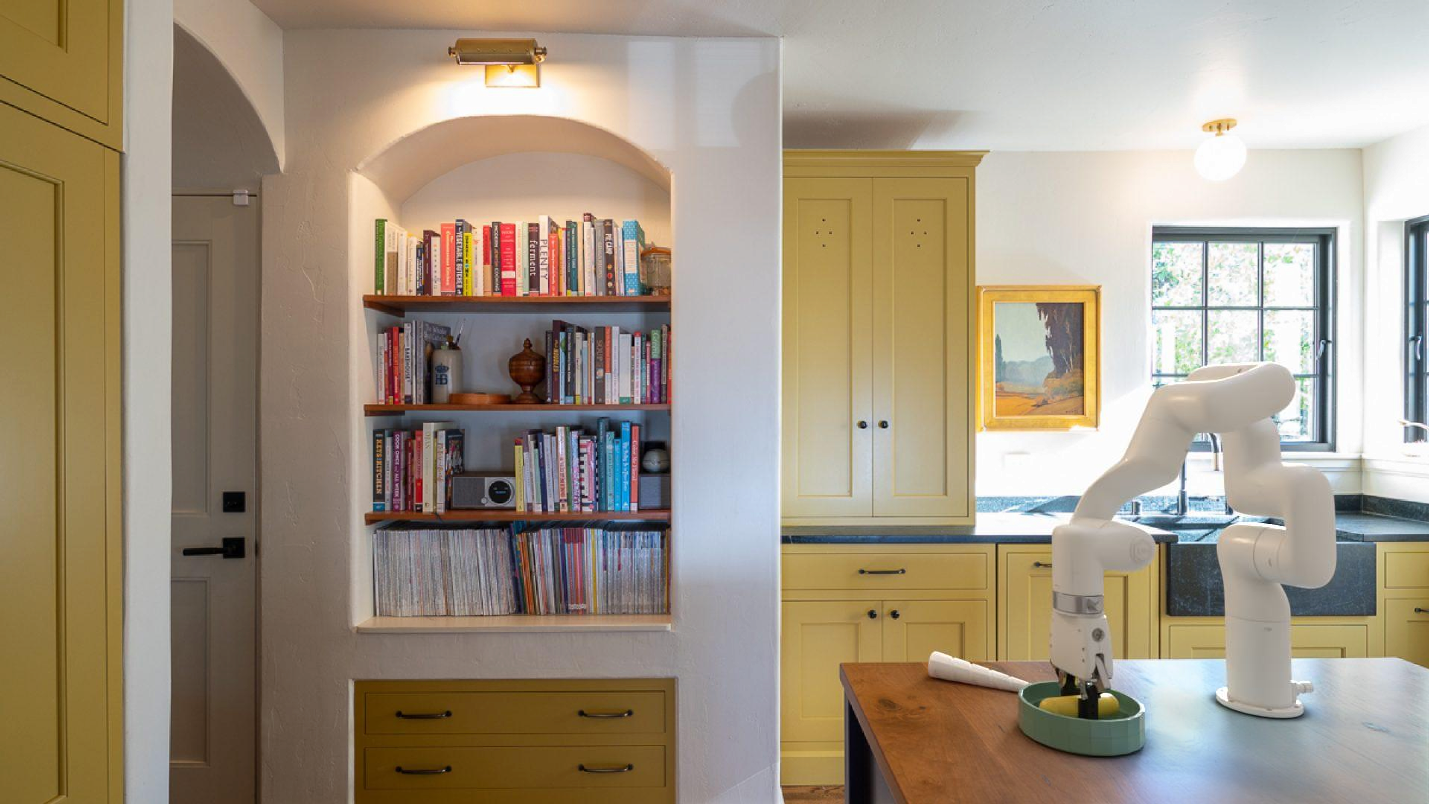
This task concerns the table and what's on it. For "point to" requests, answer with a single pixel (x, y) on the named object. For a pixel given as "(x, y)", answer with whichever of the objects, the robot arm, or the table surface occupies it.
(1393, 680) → the table surface
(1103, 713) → the yellow rounded capsule
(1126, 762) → the table surface
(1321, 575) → the robot arm
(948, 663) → the unicorn horn
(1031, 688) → the green round dish
